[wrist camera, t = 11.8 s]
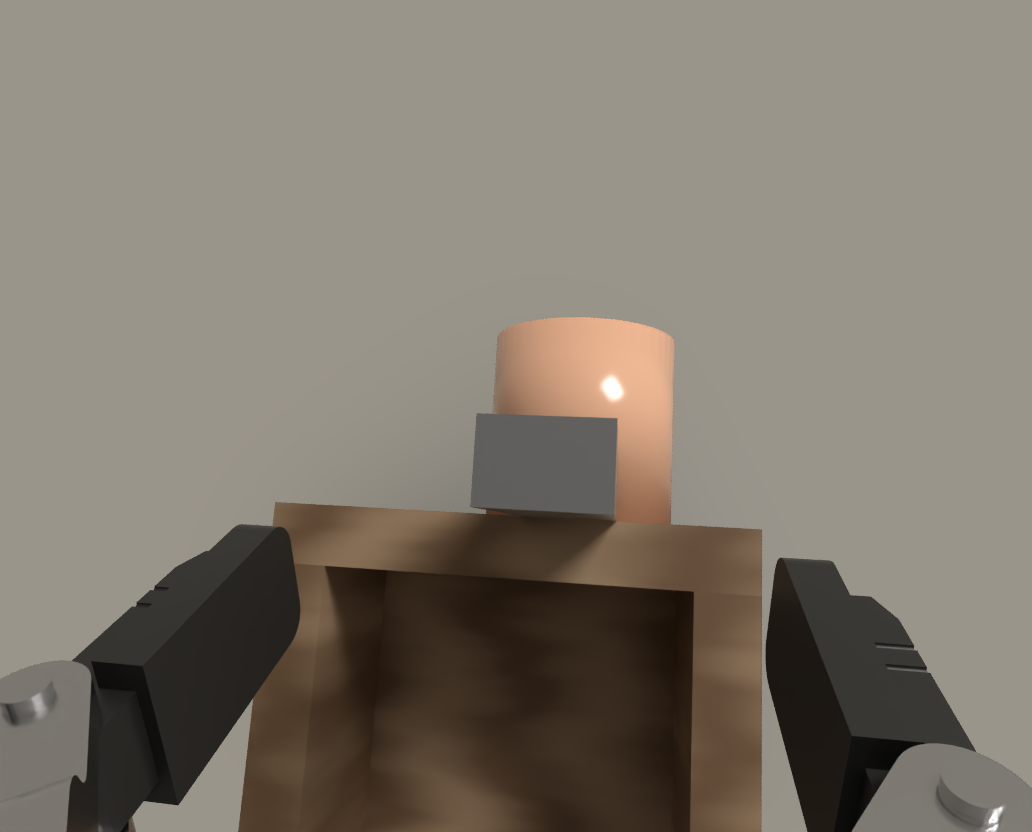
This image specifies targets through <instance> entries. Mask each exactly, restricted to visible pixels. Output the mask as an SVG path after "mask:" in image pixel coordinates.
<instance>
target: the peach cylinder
mask: <svg viewBox="0 0 1032 832" xmlns="http://www.w3.org/2000/svg"><path fill="white" fill-rule="evenodd" d="M674 346H675V342H674V340H673V339H672V338H671V337H670V336H669V335H668V334H666V333H664V332H662V331H660V330H658V329H655V328H652V327H649V326H645V325H642V324H637V323H632V322H626V321H621V320H613V319H603V318H583V317H574V318H573V317H569V318H568V317H567V318H552V319H551V318H550V319H541V320H534V321H529V322H524V323H520V324H517V325H514V326H511V327H508V328H506V329H505V330H503V331H502V332H500V334H499V335H498V338H497V353H496V369H495V384H494V400H493V414H480V413H477V416H476V431H475V446H474V461H473V475H472V490H471V505H470V507H474V508H479V509H485V510H486V514H493V515H511V516H529V517H546V518H564V519H582V520H600V521H617V522H635V523H653V524H671V523H670V522H671V482H672V480H671V479H672V438H673V392H674V348H675V347H674Z"/></svg>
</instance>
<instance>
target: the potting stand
mask: <svg viewBox="0 0 1032 832" xmlns="http://www.w3.org/2000/svg"><path fill="white" fill-rule="evenodd" d="M273 526H278V527H283V528H285V529H286V530H287V532H288V534H289V536H290V540H291V546H292V553H293V559H294V566H295V572H296V579H297V585H298V592H299V599H300V610H301V611H300V621H299V626H298V629H297V632H296V635H295V637H294V639H293V641H292V643H291V644H290V646H289V647H288V649H287V650H286V652H285V653H284V654H283V656H282V657H281V659H280V660H279V662H278V663H277V665H276V666H275V667H274V669H273V670H272V672H271V673H270V675H269V676H268V677H267V679H266V680H265V682H264V683H263V685H262V686H261V687H260V689H259V690H258V692H257V693H256V695H255V696H254V698H253V706H252V714H251V724H250V732H249V742H248V750H247V759H246V768H245V777H244V786H243V795H242V804H241V812H240V821H239V830H238V832H761V774H762V769H761V767H762V766H761V765H762V764H761V763H762V762H761V761H762V759H761V758H762V757H761V754H762V752H761V751H762V749H761V748H762V747H761V746H762V740H761V739H762V738H761V737H762V734H761V733H762V723H761V722H762V717H761V716H762V706H761V705H762V530H759V529H742V528H724V527H705V526H688V525H671V524H653V523H635V522H617V521H600V520H582V519H564V518H546V517H529V516H511V515H493V514H474V513H457V512H439V511H421V510H404V509H386V508H368V507H351V506H333V505H315V504H297V503H280V502H275V509H274V518H273Z"/></svg>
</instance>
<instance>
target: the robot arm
mask: <svg viewBox="0 0 1032 832" xmlns="http://www.w3.org/2000/svg"><path fill="white" fill-rule="evenodd" d="M300 611H301V610H300V599H299V592H298V585H297V579H296V572H295V566H294V559H293V553H292V546H291V540H290V536H289V534H288V532H287V530H286V529H285V528H283V527H278V526H260V525H243V524H241V525H237V526H236V527H234V528H233V529H232V530H231V531H230V532H229V533H228V534H227V535H226V536H224V537H223V538H222V539H221V540H220V541H219V542H218V543H217V544H216V545H215V546H214V547H213V548H212V549H211V550H209V551H205V552H203V553H201V554H200V555H198V556H196V557H194V558H192V559H190V560H188V561H186V562H185V563H183V564H181V565H179V566H177V567H175V568H174V569H173V570H172V571H171V572H170V573H169V574H168V575H167V576H166V577H164V578H163V579H162V580H161V581H160V582H159V583H158V584H157V585H155V588H154V590H150V591H149V592H148V593H147V594H146V595H144V596H143V597H142V598H141V599H140V600H139V601H138V602H137V605H136V607H131V608H130V609H129V610H128V611H127V612H126V613H124V614H123V615H122V616H121V617H120V618H119V619H118V620H117V621H115V622H114V623H113V624H112V625H111V626H110V627H109V628H108V629H107V630H106V631H104V633H102V634H101V635H100V636H99V637H98V638H97V639H95V640H94V641H93V642H92V643H91V644H90V645H89V646H88V647H87V648H85V649H84V650H83V651H82V652H81V653H80V654H79V655H78V656H77V657H76V658H74V659H73V660H72V661H52V662H45V663H40V664H37V665H33V666H30V667H27V668H24V669H21V670H18V671H16V672H14V673H11V674H10V675H7V676H5V677H3V678H2V679H0V832H136V830H135V826H134V822H133V819H132V816H133V814H134V813H135V812H136V810H137V809H138V808H139V806H140V805H141V804H142V802H143V801H148V802H156V803H164V804H172V805H179V803H180V802H181V801H182V799H183V798H184V796H185V795H186V793H187V792H188V790H189V789H190V788H191V786H192V785H193V784H194V782H195V781H196V779H197V778H198V776H199V775H200V773H201V772H202V771H203V769H204V768H205V766H206V765H207V763H208V762H209V761H210V759H211V758H212V756H213V755H214V753H215V752H216V751H217V749H218V748H219V746H220V745H221V743H222V742H223V740H224V739H225V738H226V736H227V735H228V733H229V732H230V730H231V729H232V727H233V726H234V725H235V723H236V722H237V720H238V719H239V718H240V716H241V715H242V713H243V712H244V710H245V709H246V708H247V706H248V705H249V703H250V702H251V700H252V699H253V698H254V696H255V695H256V693H257V692H258V690H259V689H260V687H261V686H262V685H263V683H264V682H265V680H266V679H267V677H268V676H269V675H270V673H271V672H272V670H273V669H274V667H275V666H276V665H277V663H278V662H279V660H280V659H281V657H282V656H283V654H284V653H285V652H286V650H287V649H288V647H289V646H290V644H291V643H292V641H293V639H294V637H295V635H296V632H297V629H298V626H299V621H300ZM766 671H767V679H768V684H769V688H770V692H771V696H772V700H773V703H774V707H775V711H776V715H777V718H778V722H779V726H780V730H781V734H782V737H783V741H784V745H785V749H786V752H787V756H788V760H789V764H790V767H791V771H792V775H793V779H794V783H795V786H796V790H797V794H798V797H799V801H800V805H801V809H802V813H803V816H804V820H805V824H806V828H807V832H1032V788H1031V787H1030V786H1029V785H1028V784H1027V783H1026V782H1024V781H1023V780H1022V779H1021V778H1019V777H1018V776H1017V775H1016V774H1015V773H1013V772H1012V771H1010V770H1009V769H1007V768H1006V767H1004V766H1003V765H1001V764H999V763H998V762H996V761H994V760H992V759H990V758H988V757H986V756H983V755H981V754H979V753H977V752H976V750H975V749H974V747H973V745H972V744H971V742H970V740H969V738H968V737H967V735H966V733H965V732H964V730H963V728H962V727H961V725H960V723H959V721H958V720H957V718H956V716H955V715H954V713H953V711H952V709H951V708H950V706H949V705H948V703H947V701H946V699H945V697H944V696H943V694H942V693H941V691H940V689H939V688H938V686H937V684H936V682H935V680H934V679H933V677H932V675H931V674H930V673H927V667H926V665H925V663H924V662H923V660H922V658H921V657H920V655H919V653H918V651H915V650H914V645H913V643H912V641H911V640H910V638H909V636H908V634H907V633H906V631H905V629H904V628H903V626H902V624H901V622H900V621H899V620H898V618H896V617H895V616H894V615H893V614H891V613H890V612H889V611H888V610H887V609H885V608H884V607H883V606H882V605H880V604H879V603H878V602H877V601H876V600H874V599H873V598H872V597H868V596H867V597H866V596H852V595H850V594H849V592H848V590H847V588H846V586H845V584H844V582H843V580H842V578H841V576H840V574H839V572H838V570H837V568H836V566H835V565H834V563H833V562H832V561H826V560H809V559H794V558H779V559H778V561H777V564H776V568H775V574H774V582H773V590H772V599H771V607H770V614H769V623H768V631H767V639H766Z"/></svg>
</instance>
